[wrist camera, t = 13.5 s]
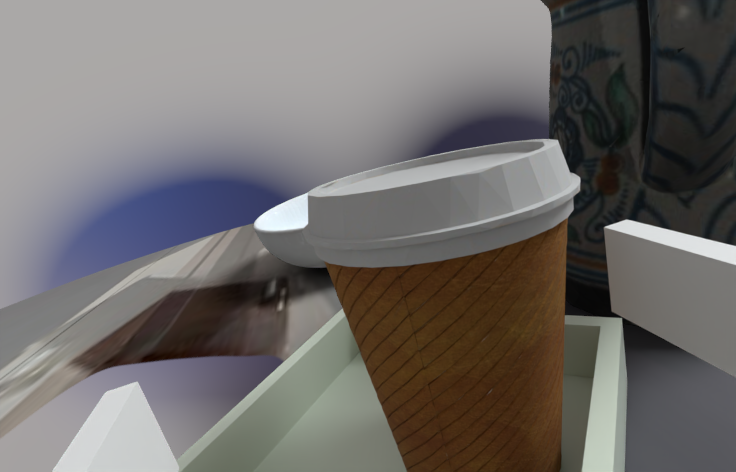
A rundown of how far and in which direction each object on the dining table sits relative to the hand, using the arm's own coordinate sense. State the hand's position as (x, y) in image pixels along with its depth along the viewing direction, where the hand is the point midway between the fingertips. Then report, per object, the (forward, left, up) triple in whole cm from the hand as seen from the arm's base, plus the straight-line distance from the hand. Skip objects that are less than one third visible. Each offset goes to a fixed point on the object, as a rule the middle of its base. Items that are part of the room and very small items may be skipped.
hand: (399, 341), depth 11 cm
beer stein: (+8, +22, -9) cm, 25 cm away
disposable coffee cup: (-1, +4, -8) cm, 10 cm away
